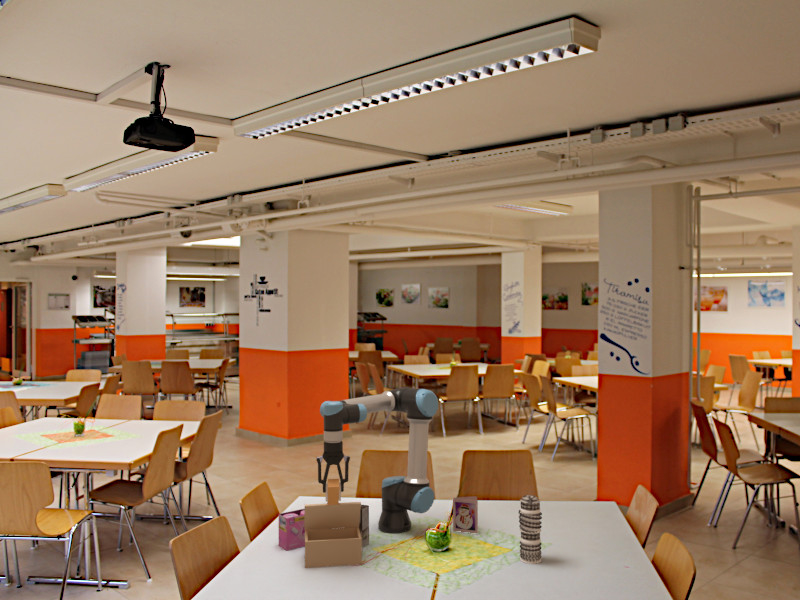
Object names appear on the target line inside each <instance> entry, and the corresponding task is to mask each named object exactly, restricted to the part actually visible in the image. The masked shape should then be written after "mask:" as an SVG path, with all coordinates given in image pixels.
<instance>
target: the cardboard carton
mask: <svg viewBox="0 0 800 600" xmlns="http://www.w3.org/2000/svg"><path fill="white" fill-rule="evenodd" d="M362 552H363V550H362V538H361V534H360V530H359V527H352V528H333V529H314V530H305V546H304V568H306V569H308V568H309V569H310V568H322V567H323V568H325V567H326V566H328V567H340V566H342V565H345V566H356V565H357V566H360V565H362V563H363V561H362V559H363V557H362V556H363V554H362ZM358 564H360V565H358ZM342 567H343V566H342Z"/></svg>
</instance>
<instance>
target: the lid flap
mask: <svg viewBox="0 0 800 600" xmlns="http://www.w3.org/2000/svg"><path fill="white" fill-rule="evenodd" d="M327 483H328V502H327V503H312V504H311V503H308V504H304V509H305V520H304V530H312V529H331V528H350V527H359V522H360V509H361V505H362V502H361V501H355V502H351V501H350V502H340V501H339V483H340V478H327Z"/></svg>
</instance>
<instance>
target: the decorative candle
mask: <svg viewBox="0 0 800 600" xmlns="http://www.w3.org/2000/svg"><path fill="white" fill-rule="evenodd" d="M519 501H520V507H519V509H518V514H519V515H518V519H519V520H518V523H519V531H520V536H519V537H520V541H519V548H520V549H519V560H520V562H522V563H524V562H525V564H528V563H529V565H535V564H536V563H537V564H540V563H541V562H542V553H543V552H542V542H541V540H542V539H541V532H542V521H541V520H542V519H543V517H542V515H543V513H542V512H541V507H540V506H541V500H540V499H539V498H538V496H536V495H532V494H525V495H523V496H522V497H521V498H520V499H519ZM539 562H540V563H539ZM530 563H531V564H530ZM537 564H536V565H537Z"/></svg>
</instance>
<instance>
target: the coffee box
mask: <svg viewBox="0 0 800 600" xmlns="http://www.w3.org/2000/svg"><path fill="white" fill-rule="evenodd" d="M369 509H370V506H369V505H367V504H361V509H360V522H359V530H360V534H361V538H362V548H364V547H366V546H367V545H369V544H370V513H369V512H370V511H369ZM350 528H352V527H350Z"/></svg>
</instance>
